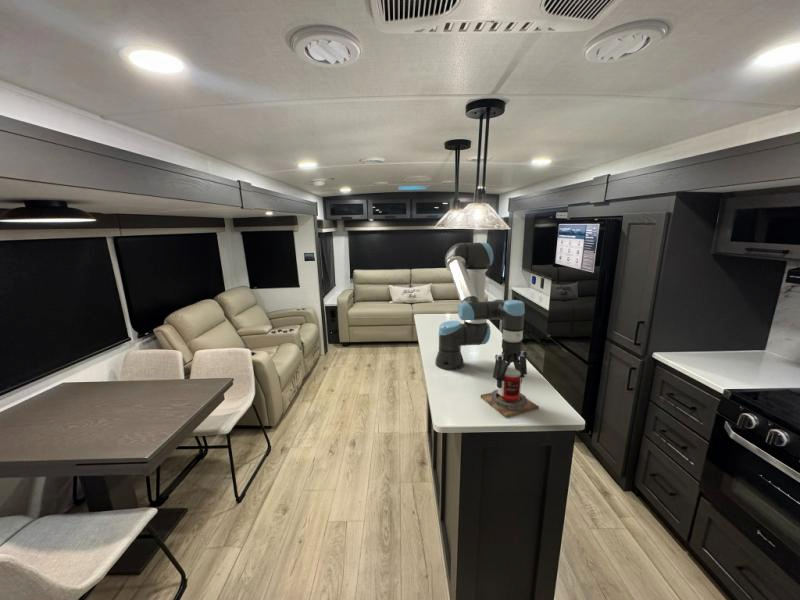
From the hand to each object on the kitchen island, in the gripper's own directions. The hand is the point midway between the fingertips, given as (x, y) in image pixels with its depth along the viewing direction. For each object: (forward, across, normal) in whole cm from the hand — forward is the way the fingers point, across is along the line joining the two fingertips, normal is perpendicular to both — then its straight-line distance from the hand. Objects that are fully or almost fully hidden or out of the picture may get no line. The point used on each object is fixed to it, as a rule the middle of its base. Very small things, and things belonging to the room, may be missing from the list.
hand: (508, 392), depth 123 cm
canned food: (+2, 0, 0) cm, 2 cm away
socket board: (+5, 0, 0) cm, 5 cm away
